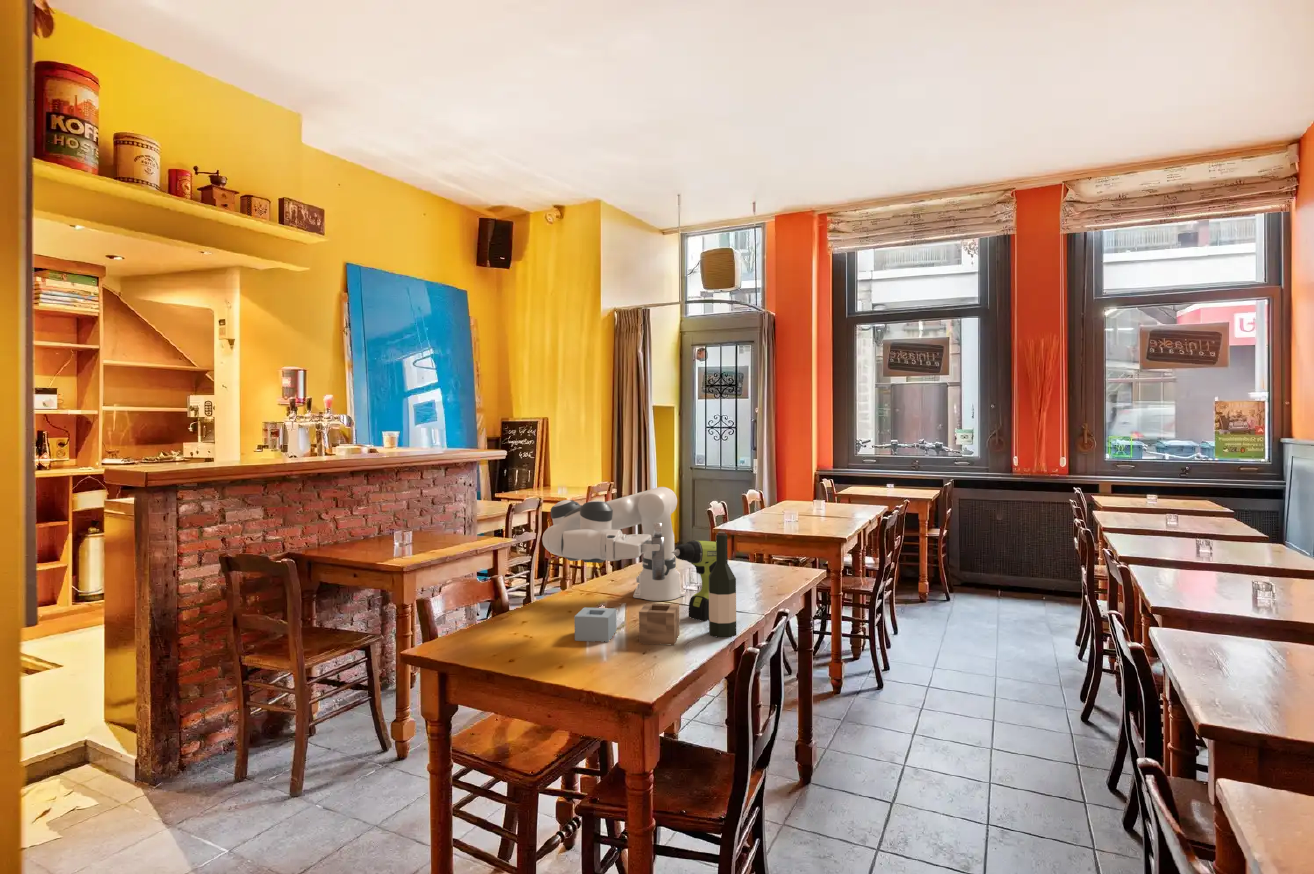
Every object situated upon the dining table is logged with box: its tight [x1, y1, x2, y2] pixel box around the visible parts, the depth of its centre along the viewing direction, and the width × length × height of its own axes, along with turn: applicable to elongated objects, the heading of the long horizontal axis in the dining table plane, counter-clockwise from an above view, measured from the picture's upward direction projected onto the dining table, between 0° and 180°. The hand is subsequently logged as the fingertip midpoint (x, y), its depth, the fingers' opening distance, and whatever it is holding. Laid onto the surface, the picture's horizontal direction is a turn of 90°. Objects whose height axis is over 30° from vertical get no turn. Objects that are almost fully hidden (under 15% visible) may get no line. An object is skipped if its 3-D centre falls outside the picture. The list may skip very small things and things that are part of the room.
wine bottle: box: [708, 531, 737, 638], centre depth 208 cm, size 8×8×30 cm
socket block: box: [574, 606, 618, 643], centre depth 207 cm, size 10×10×7 cm
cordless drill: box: [672, 539, 716, 622], centre depth 224 cm, size 23×7×25 cm, turn 134°
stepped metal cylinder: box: [652, 523, 665, 580], centre depth 203 cm, size 4×4×16 cm
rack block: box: [638, 602, 680, 646], centre depth 203 cm, size 10×10×9 cm
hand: (661, 545), depth 203 cm, fingers closed on stepped metal cylinder, 4 cm apart
